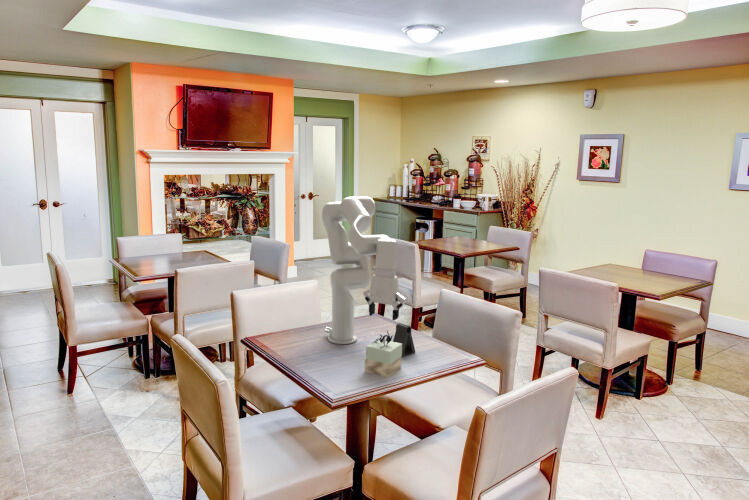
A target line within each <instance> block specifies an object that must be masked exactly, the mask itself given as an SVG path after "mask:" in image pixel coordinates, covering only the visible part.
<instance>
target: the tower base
mask: <svg viewBox="0 0 749 500" xmlns="http://www.w3.org/2000/svg"><path fill="white" fill-rule="evenodd" d="M401 369H402V357H400V358H398V359H397V360H396V361H394V362H393V363H391V364H390V365H389V364H385V363H381V362H376V361H372V360H368V359H366V358H364V372H365V373H366V372H367V373H369V374H374V375H378V376H381V377H384V376H385V378H390V377H391V376H392V375H394V374H395V373H397V372H398V371H399V370H401Z"/></svg>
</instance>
